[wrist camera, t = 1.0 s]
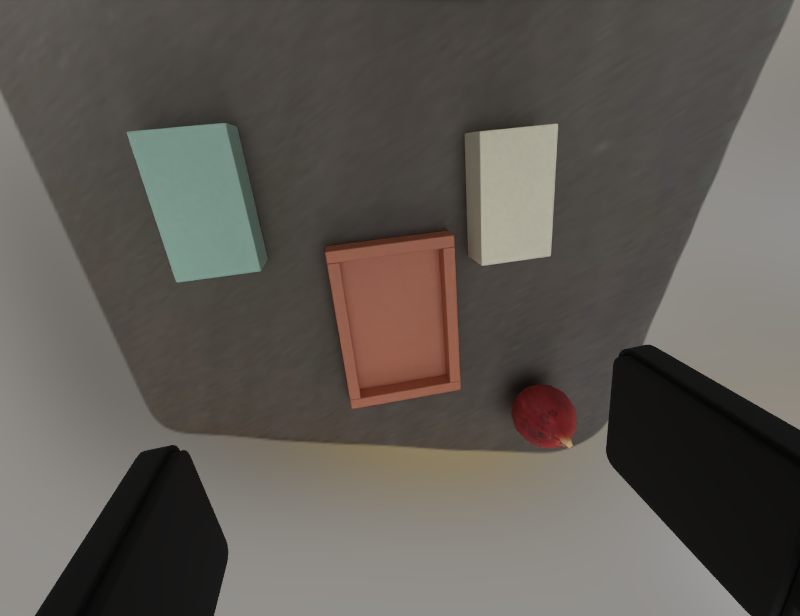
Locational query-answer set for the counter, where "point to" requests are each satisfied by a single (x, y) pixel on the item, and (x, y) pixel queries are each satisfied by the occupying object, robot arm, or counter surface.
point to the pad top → (510, 193)
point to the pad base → (201, 199)
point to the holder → (396, 316)
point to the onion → (544, 416)
